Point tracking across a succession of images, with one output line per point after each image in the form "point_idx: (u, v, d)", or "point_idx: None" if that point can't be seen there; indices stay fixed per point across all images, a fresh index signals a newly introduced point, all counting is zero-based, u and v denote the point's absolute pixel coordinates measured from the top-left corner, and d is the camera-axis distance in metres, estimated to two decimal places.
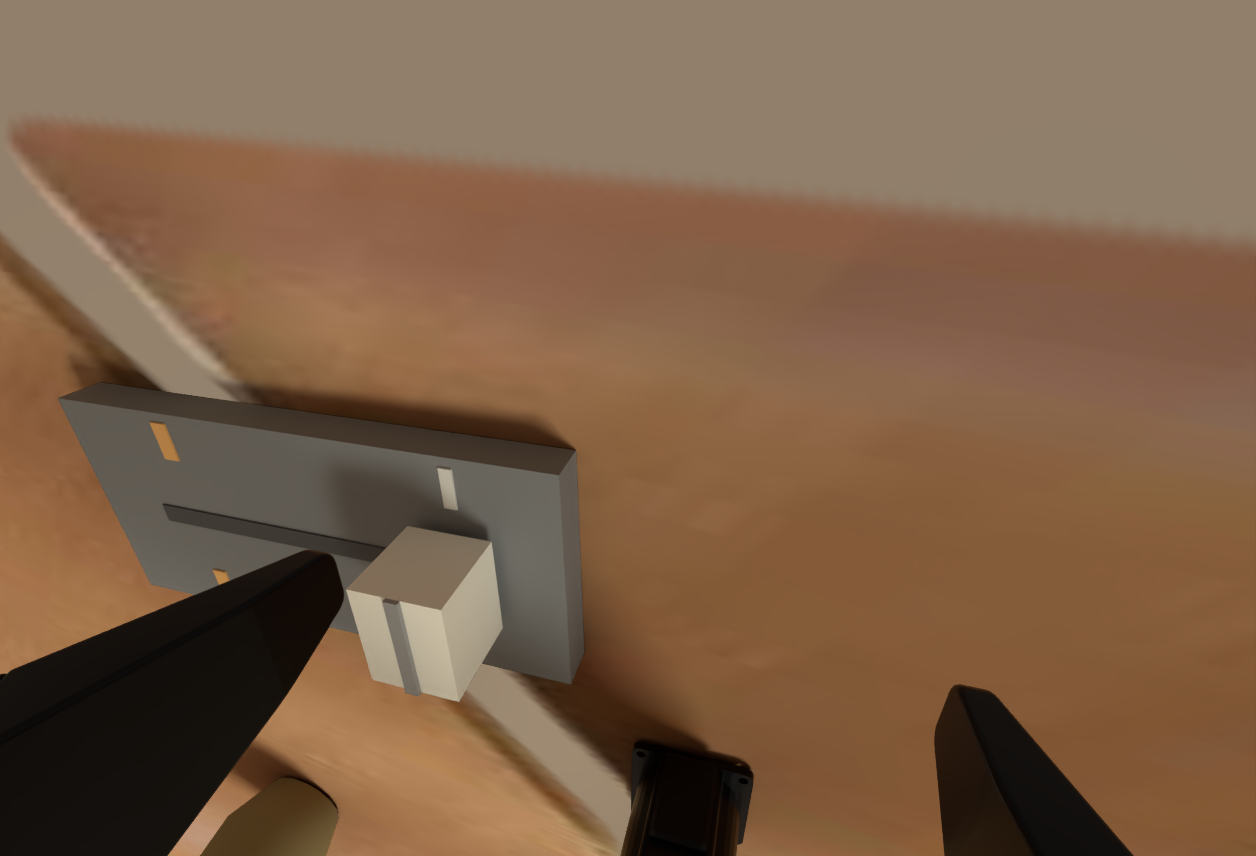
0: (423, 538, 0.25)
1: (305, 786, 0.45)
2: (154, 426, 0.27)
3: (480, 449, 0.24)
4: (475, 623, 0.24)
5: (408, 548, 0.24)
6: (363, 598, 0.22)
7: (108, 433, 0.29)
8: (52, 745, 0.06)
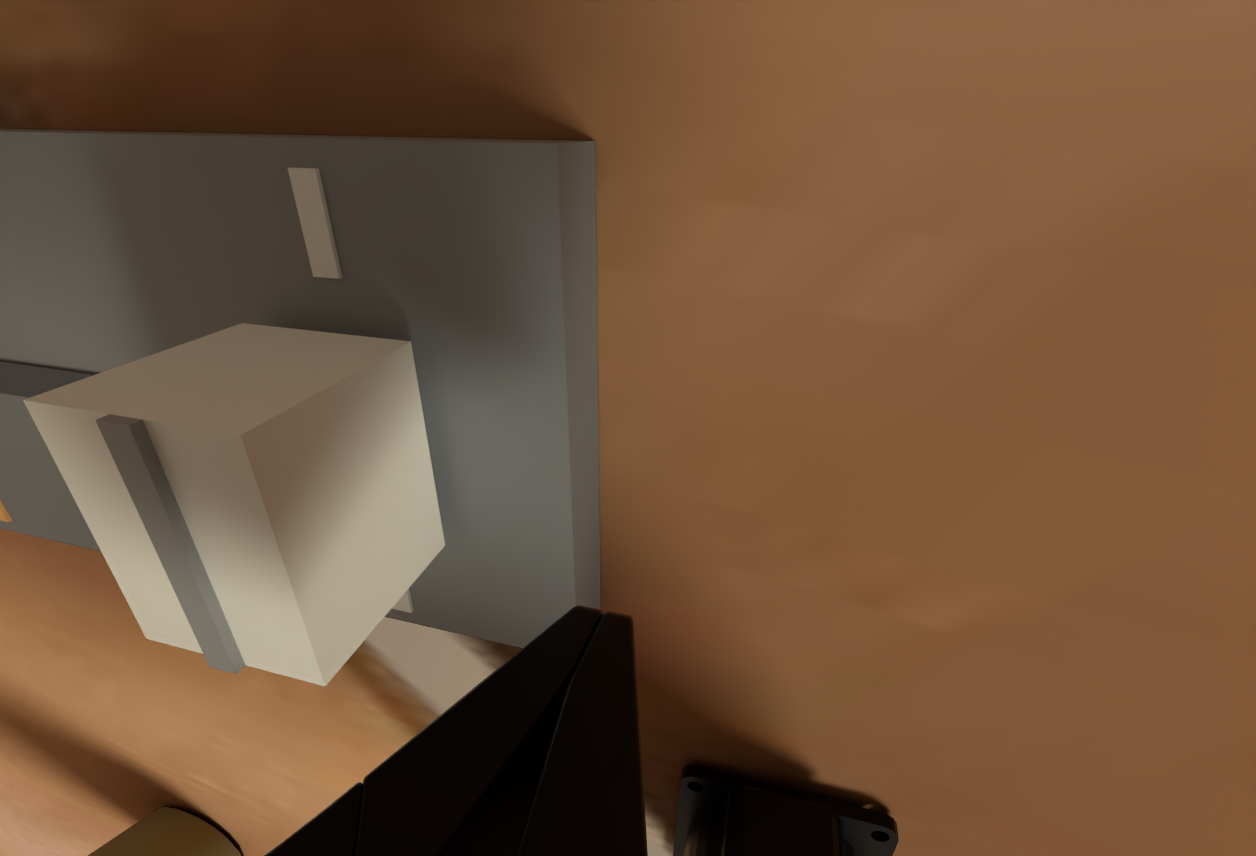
0: (265, 336, 0.11)
1: (192, 820, 0.31)
2: None
3: (386, 138, 0.11)
4: (370, 513, 0.11)
5: (222, 347, 0.11)
6: (65, 422, 0.09)
7: None
8: None
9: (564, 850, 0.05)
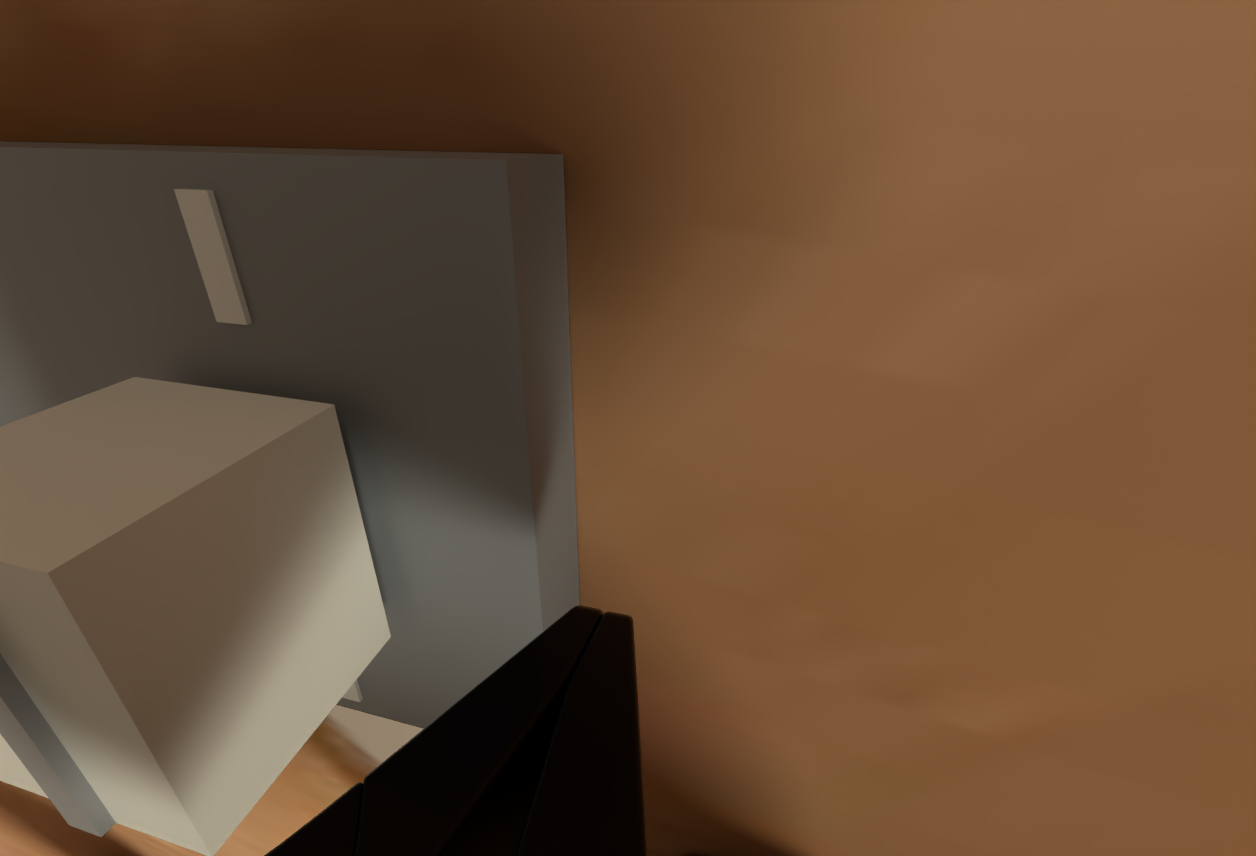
0: (154, 397, 0.09)
1: None
2: None
3: (302, 151, 0.09)
4: (277, 626, 0.09)
5: (92, 415, 0.09)
6: None
7: None
8: None
9: (563, 850, 0.05)
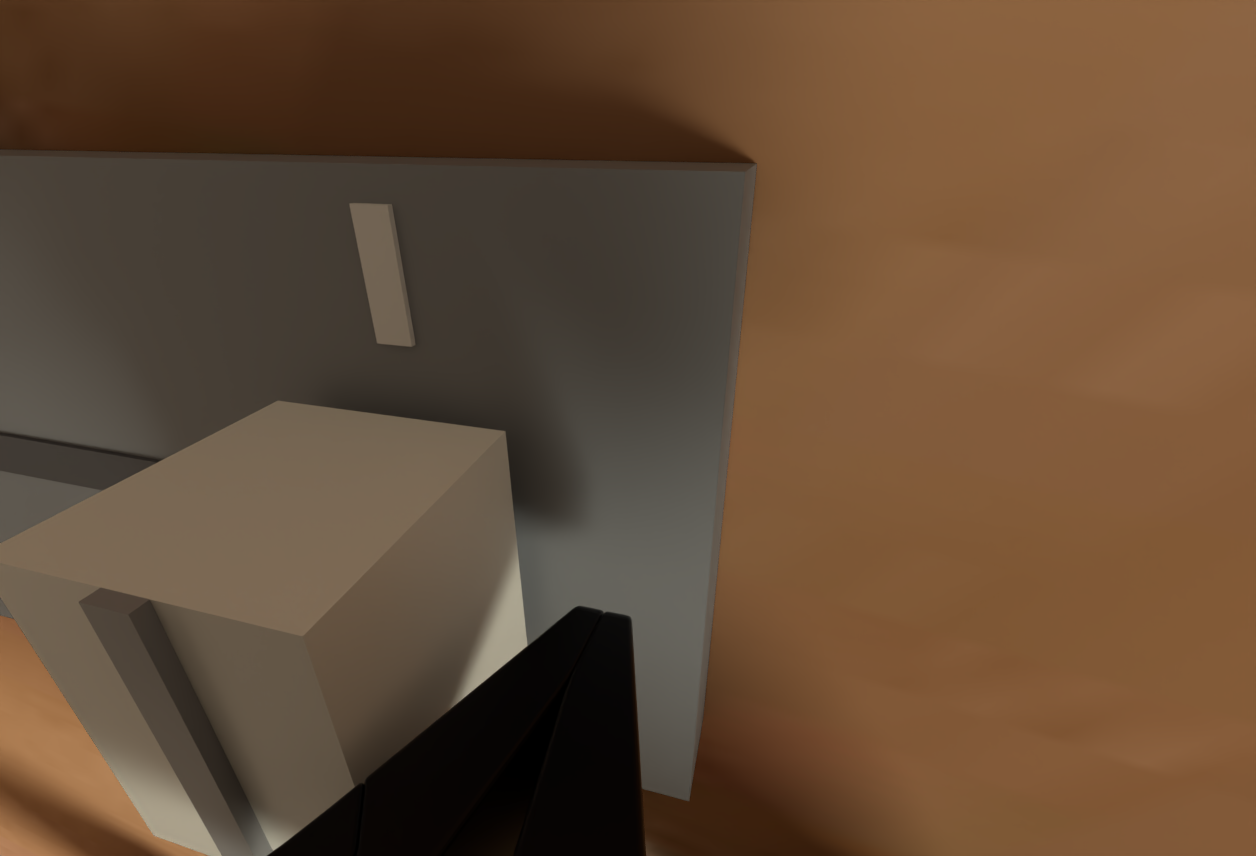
0: (311, 424, 0.09)
1: None
2: None
3: (478, 162, 0.08)
4: (457, 671, 0.08)
5: (257, 446, 0.08)
6: (36, 590, 0.06)
7: None
8: None
9: (562, 849, 0.05)
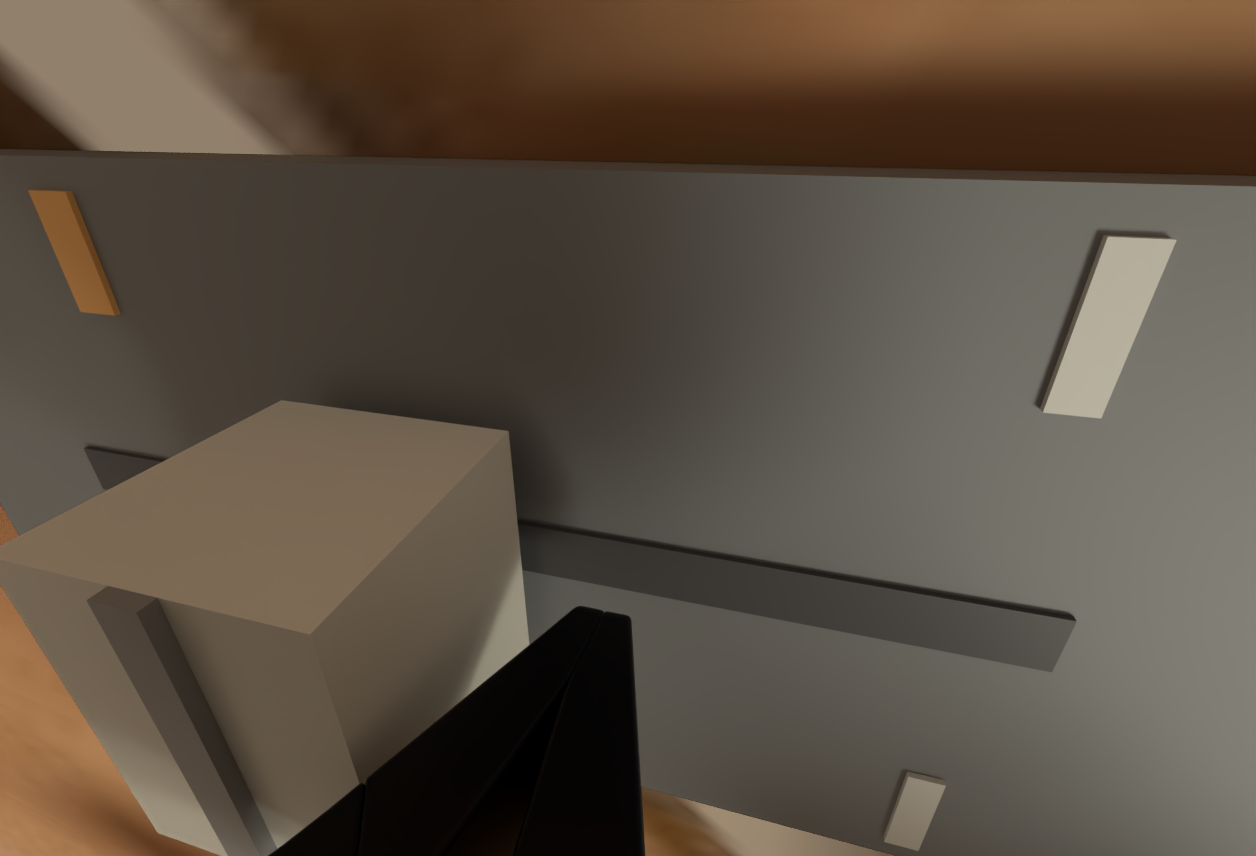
0: (315, 423, 0.09)
1: None
2: (45, 207, 0.10)
3: (1233, 180, 0.06)
4: (461, 669, 0.08)
5: (261, 445, 0.08)
6: (44, 588, 0.06)
7: None
8: None
9: (561, 849, 0.05)
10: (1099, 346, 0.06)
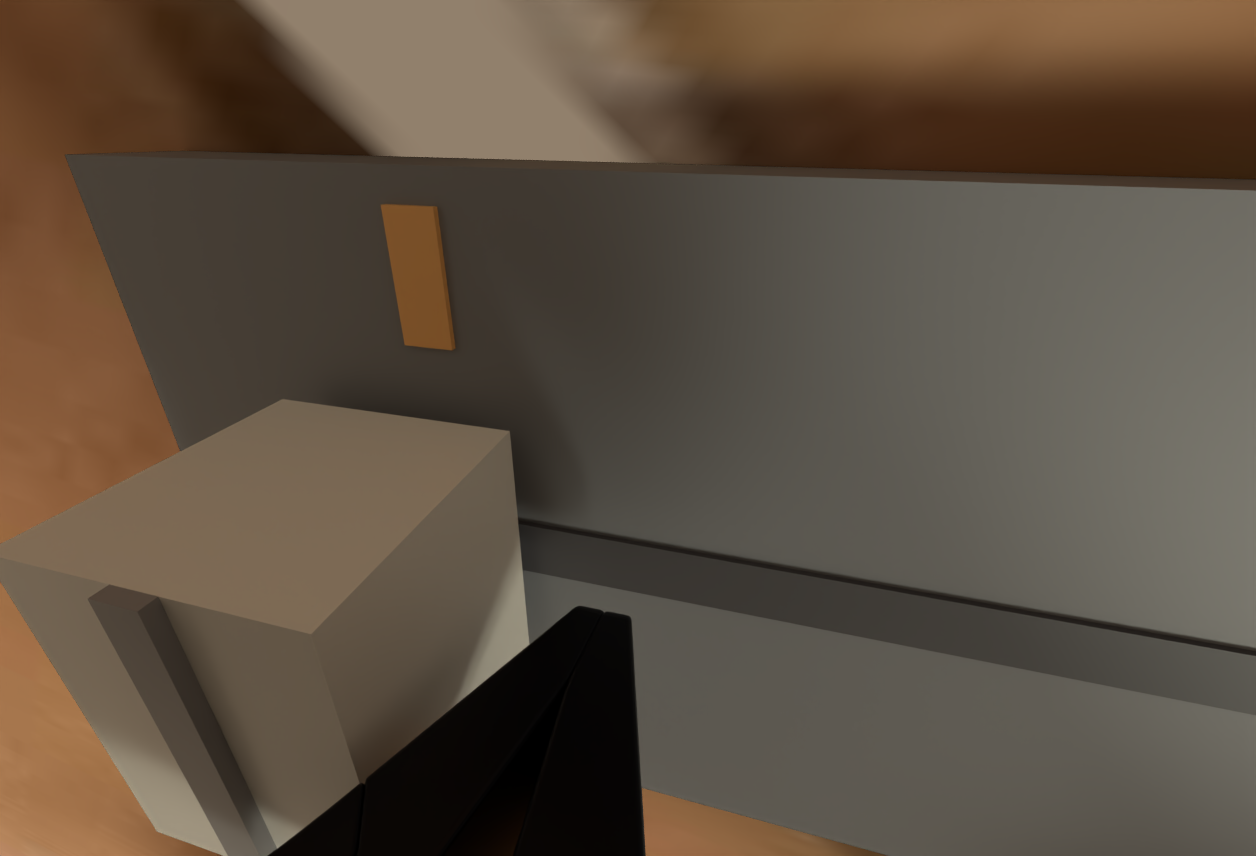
0: (316, 423, 0.09)
1: None
2: (392, 224, 0.08)
3: None
4: (461, 669, 0.08)
5: (262, 443, 0.08)
6: (45, 586, 0.06)
7: (220, 269, 0.09)
8: None
9: (562, 849, 0.05)
10: None
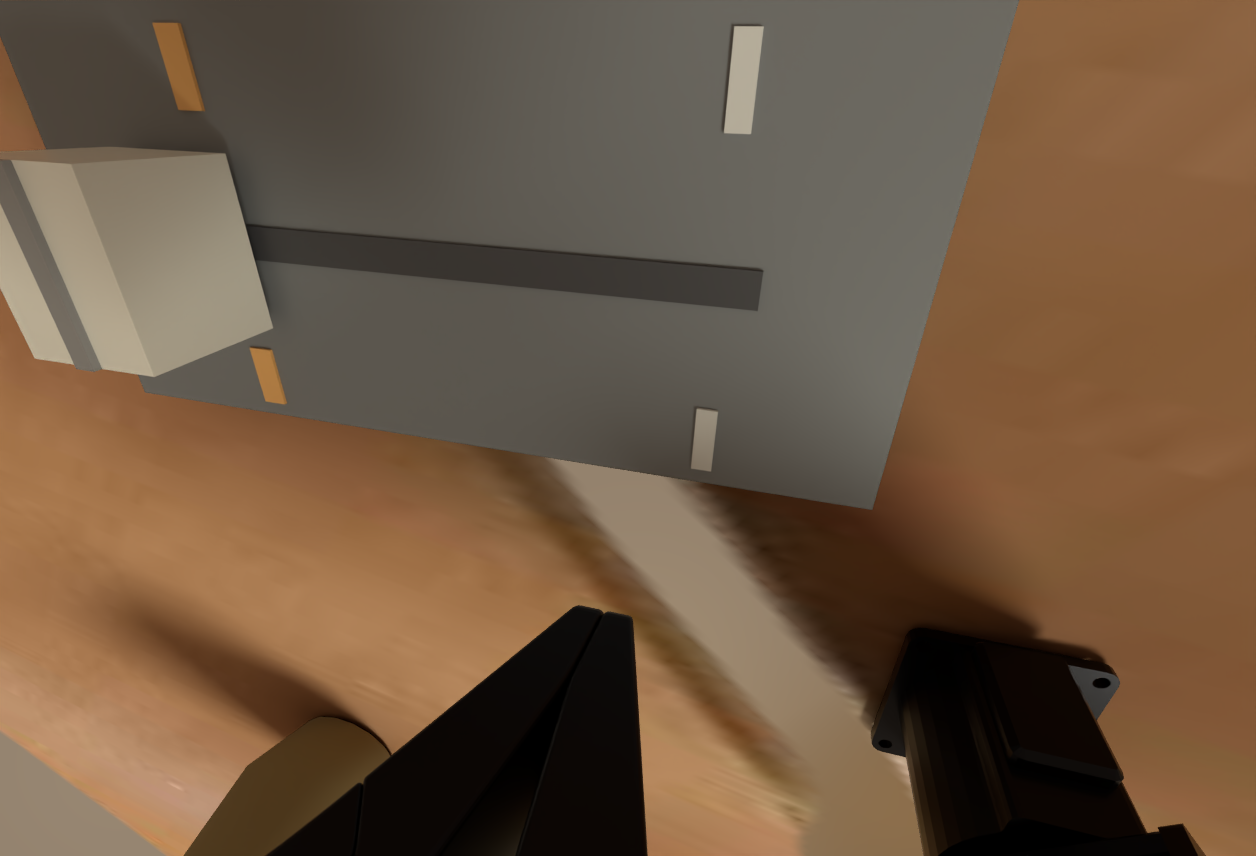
0: (121, 149, 0.16)
1: (352, 727, 0.33)
2: (161, 35, 0.15)
3: None
4: (191, 268, 0.15)
5: (86, 150, 0.15)
6: None
7: (77, 70, 0.16)
8: None
9: (564, 850, 0.05)
10: (742, 90, 0.13)
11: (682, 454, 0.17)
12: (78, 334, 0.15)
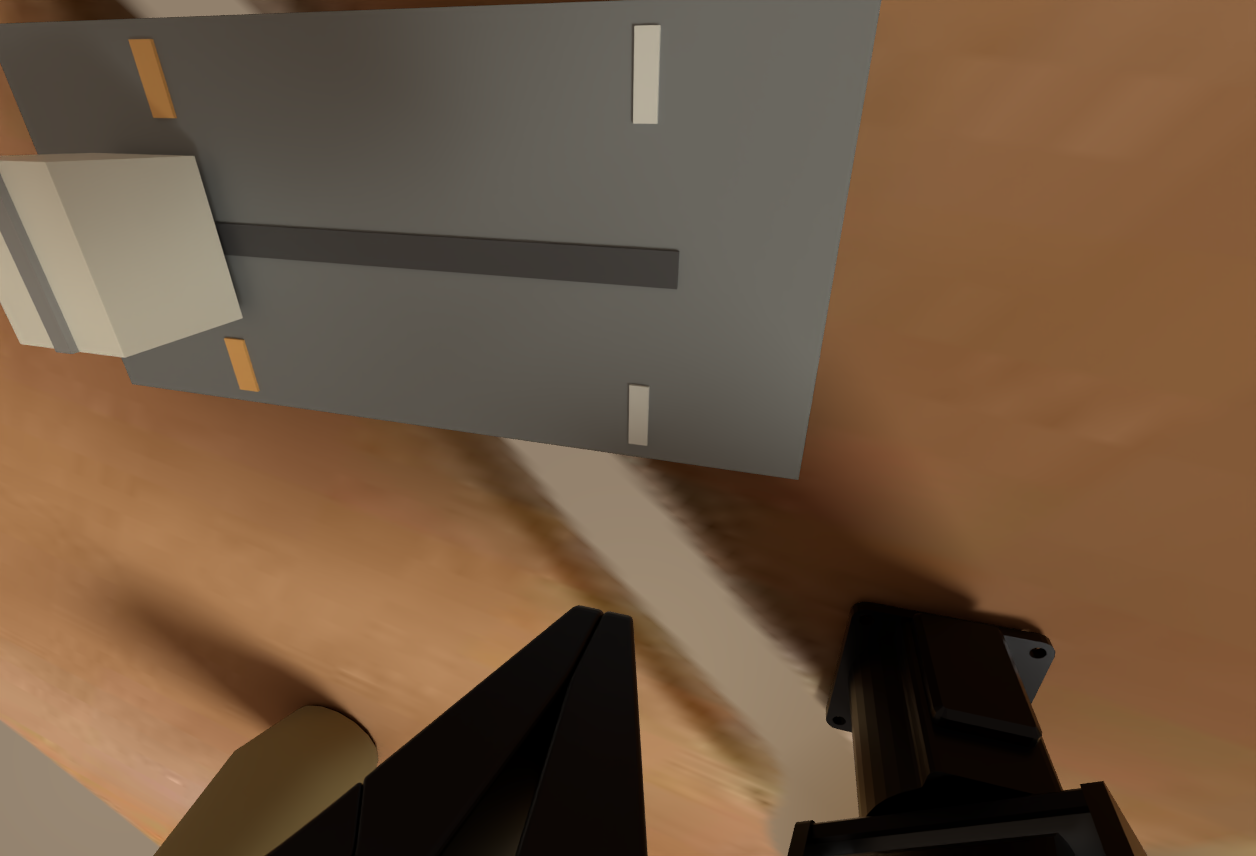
0: (102, 154, 0.18)
1: (336, 715, 0.34)
2: (136, 51, 0.17)
3: None
4: (161, 259, 0.17)
5: (68, 155, 0.17)
6: None
7: (64, 84, 0.18)
8: None
9: (563, 850, 0.05)
10: (645, 83, 0.14)
11: (620, 430, 0.18)
12: (56, 319, 0.16)
